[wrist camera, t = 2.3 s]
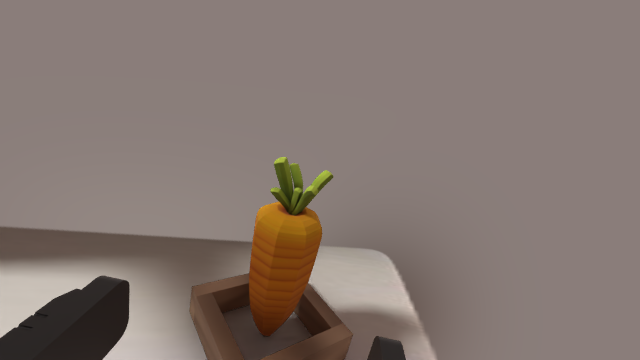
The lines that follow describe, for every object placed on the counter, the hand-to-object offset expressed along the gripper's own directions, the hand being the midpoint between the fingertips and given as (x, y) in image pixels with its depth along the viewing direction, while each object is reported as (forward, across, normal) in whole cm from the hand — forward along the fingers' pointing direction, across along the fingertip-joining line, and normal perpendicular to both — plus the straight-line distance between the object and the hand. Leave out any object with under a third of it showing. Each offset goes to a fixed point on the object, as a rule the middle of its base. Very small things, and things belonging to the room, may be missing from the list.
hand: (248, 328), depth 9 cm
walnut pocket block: (+12, 0, +12) cm, 17 cm away
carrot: (+12, 0, +12) cm, 17 cm away
